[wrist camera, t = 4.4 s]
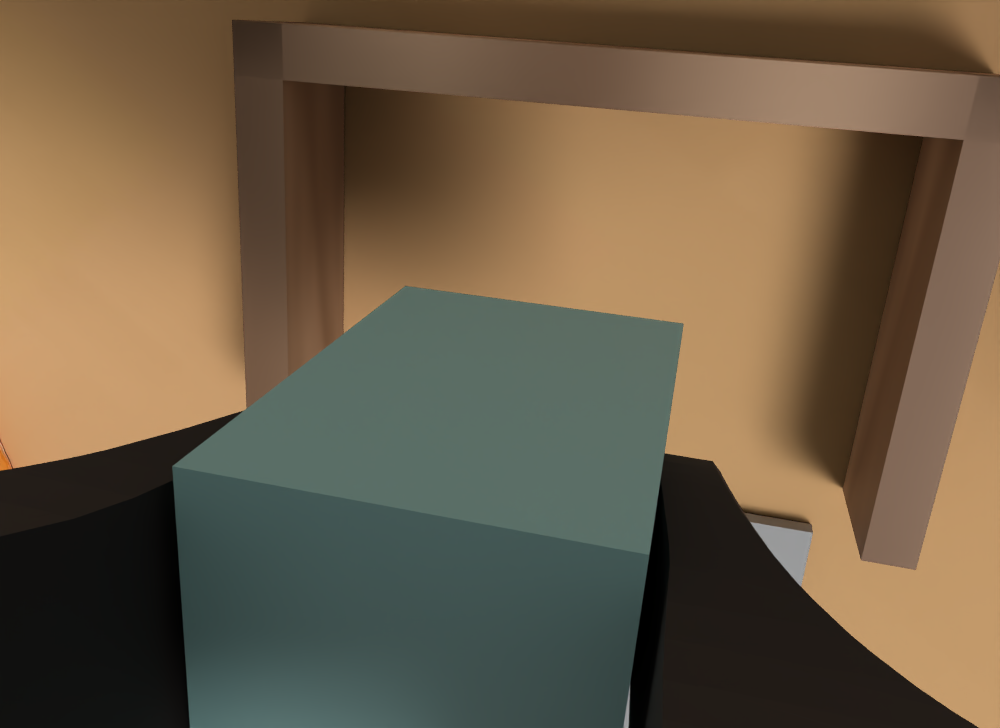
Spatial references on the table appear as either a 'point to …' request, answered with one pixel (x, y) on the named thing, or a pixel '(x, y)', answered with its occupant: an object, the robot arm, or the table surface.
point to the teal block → (431, 523)
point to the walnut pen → (657, 89)
